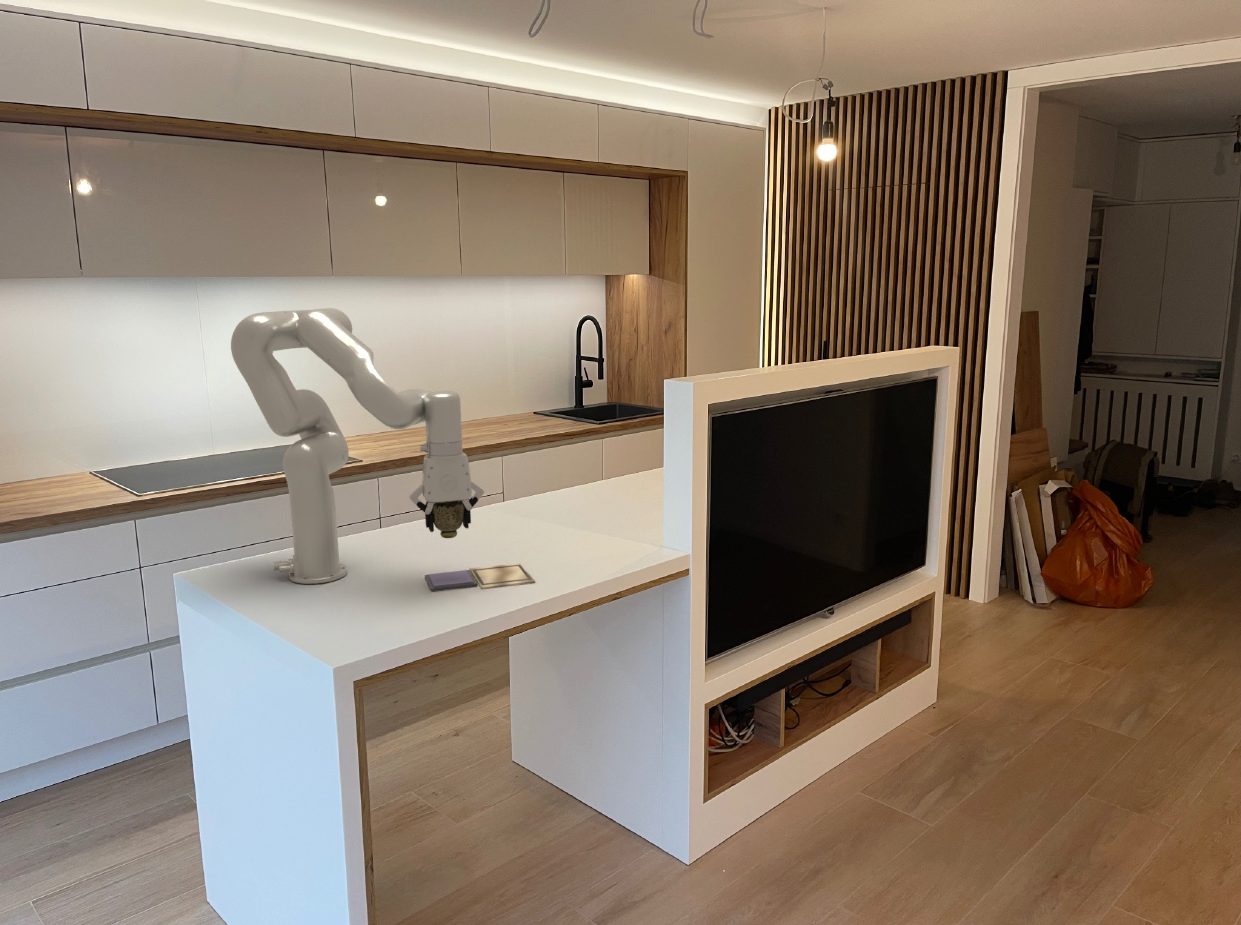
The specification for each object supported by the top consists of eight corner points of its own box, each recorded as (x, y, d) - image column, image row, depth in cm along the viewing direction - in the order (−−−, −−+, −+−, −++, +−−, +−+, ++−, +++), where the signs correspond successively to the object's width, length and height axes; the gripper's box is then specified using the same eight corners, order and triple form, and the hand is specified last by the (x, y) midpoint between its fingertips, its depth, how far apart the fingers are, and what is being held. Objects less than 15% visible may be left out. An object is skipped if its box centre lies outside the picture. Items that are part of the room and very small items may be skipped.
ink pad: (431, 591, 200) (431, 587, 200) (424, 577, 209) (424, 573, 209) (477, 586, 203) (477, 582, 203) (468, 572, 213) (468, 568, 212)
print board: (481, 589, 202) (481, 586, 202) (469, 570, 215) (469, 568, 214) (535, 582, 206) (535, 580, 205) (520, 564, 218) (520, 562, 218)
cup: (458, 542, 200) (457, 506, 198) (426, 540, 201) (424, 504, 200) (470, 533, 207) (469, 498, 205) (439, 531, 208) (438, 496, 207)
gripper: (405, 454, 194) (410, 537, 198) (488, 448, 200) (491, 529, 203) (401, 448, 201) (406, 528, 204) (481, 443, 207) (484, 520, 210)
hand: (448, 528), depth 204 cm, fingers closed on cup, 7 cm apart
